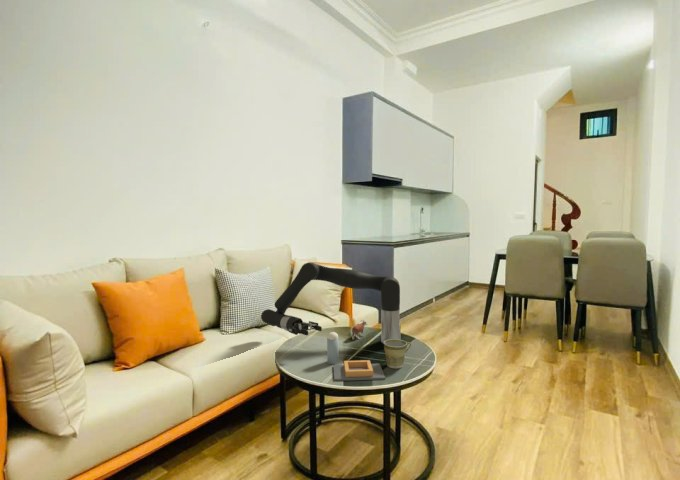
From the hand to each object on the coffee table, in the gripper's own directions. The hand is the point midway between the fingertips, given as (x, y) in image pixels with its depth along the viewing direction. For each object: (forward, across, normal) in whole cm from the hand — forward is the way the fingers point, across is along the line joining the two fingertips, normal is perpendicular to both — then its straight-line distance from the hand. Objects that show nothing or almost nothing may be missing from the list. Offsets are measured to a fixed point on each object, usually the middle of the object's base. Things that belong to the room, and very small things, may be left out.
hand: (314, 331), depth 171 cm
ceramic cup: (+35, +17, +11) cm, 40 cm away
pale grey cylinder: (+12, 0, +12) cm, 16 cm away
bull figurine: (-2, +35, +12) cm, 37 cm away
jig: (+27, -1, +11) cm, 29 cm away
